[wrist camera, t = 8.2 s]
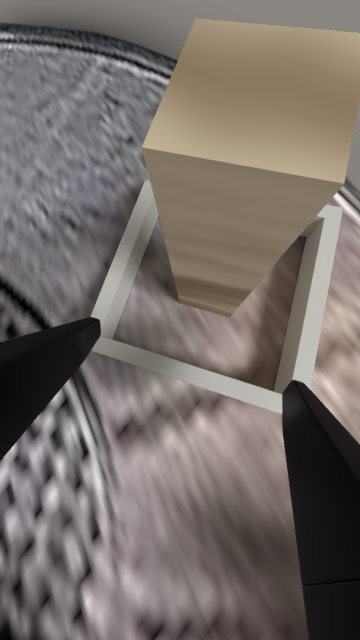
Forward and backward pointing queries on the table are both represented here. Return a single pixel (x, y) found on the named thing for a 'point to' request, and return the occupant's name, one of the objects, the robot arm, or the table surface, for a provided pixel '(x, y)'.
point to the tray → (291, 367)
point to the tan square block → (248, 150)
